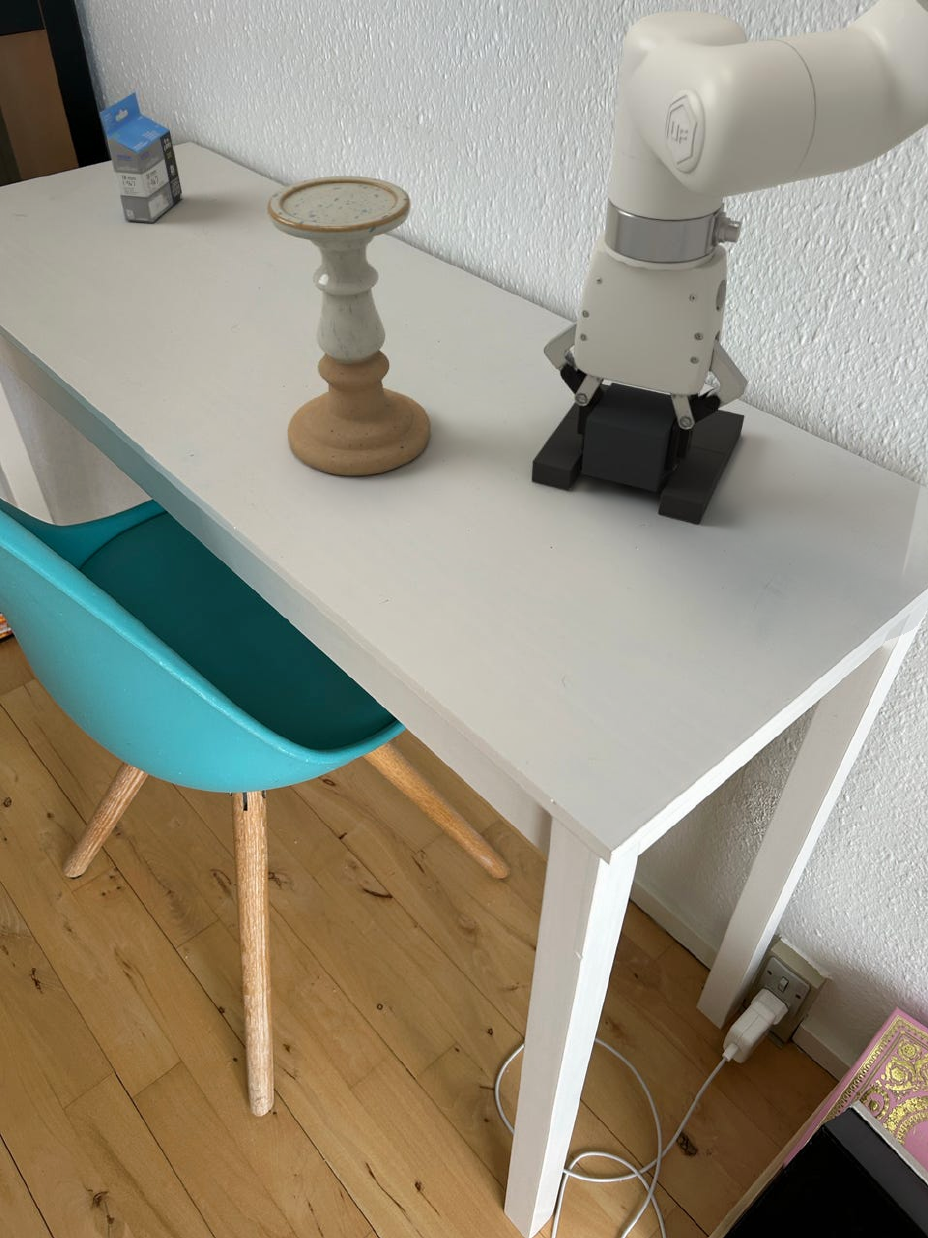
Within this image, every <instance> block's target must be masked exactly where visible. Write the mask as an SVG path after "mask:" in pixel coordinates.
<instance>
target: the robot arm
mask: <svg viewBox="0 0 928 1238" xmlns="http://www.w3.org/2000/svg"><path fill="white" fill-rule="evenodd" d="M618 79H619V80H618V90H617V100H616V112H615V121H614V122H615V123H614V134H613V143H612V154H611V155H612V156H611V164H610V165H611V166H610V176H609V177H610V178H609V189H608V190H609V191H608V197H607V206H606V207H607V208H606V217H605V227H604V231H602V232H601V233H600V234H599V235H598V237H597V239H596V240H595V243H594V246H593V249H592V253H591V256H590V259H589V263H588V268H587V270H586V275H585V278H584V284H583V288H582V293H581V299H580V305H579V308H578V316H577V320H576V321H574V322H573V323H572V324H570V325H569V326H567V327H566V328H565V329H563V330H562V331H561V332H559V333H558V334H556V335H555V336H554V337H552V338H550V340H549V341H548V343H547V344H546V345H545V346H544V347H543V354H544V355H545V356H546V358H547V359H548V360H549V361H550V363H551V364H552V365H553V367H554V368H555V370H558V371H559V377H560V378H561V379H562V380H563V382H564V383H565V384H566V386H567V387H568V388H569V389H570V390H571V392H572V393H573V394H574V398H573V399H574V401H575V402H576V403H577V404H578V405H580V406H579V417H578V429H577V433H578V434H580V435H582V445H581V450H583V451H584V440H585V429H586V419H587V418H588V416H589V415H590V414H591V412H592V411H593V409H594V408H595V406H596V405H597V403H598V402H599V400H600V399H601V398H602V396H603V395H604V390H602V389H601V388H600V386H601V384H603V383H604V381H605V380H606V381H610V382H614V383H618V384H622V385H627V386H632V387H636V388H641V389H646V390H650V391H655V392H660V393H665V394H669V395H671V399H672V403H673V406H674V410H675V414H676V420H675V422H674V424H673V426H672V427H671V431H670V437H669V443H668V449H667V455H666V461H665V469H666V471H667V472H669V473H673V471H674V469H675V467H676V465H677V462H678V460H679V459H680V458H682V459H686V458H687V456H688V454H689V451H690V447H691V442H692V436H693V431H694V425H695V423H697V422H699V421H700V420H702V419H704V418H706V417H707V416H709V415H711V414H713V413H714V412H716V411H717V410H720V408H722V407H724V406H726V405H728V404H730V403H732V402H733V401H735V400H737V399H739V398H741V397H742V396H743V395H744V393H745V391H746V389H747V388H748V385H749V381H748V380H747V378H746V377H745V375H744V374H743V373H742V371H741V370H740V368H738V366H737V364H736V363H735V362H734V361H733V359H732V358H731V356H730V355H729V354H728V353H727V351H726V350H725V348H724V347H723V346H722V344H721V341H722V334H723V326H724V318H725V310H726V309H725V308H726V298H727V282H728V276H727V275H728V258H727V257H728V256H727V249H726V248H725V247H724V246H723V245H721V244H726V242H727V243H733V244H737V243H738V241H739V238H740V234H741V230H742V221H739V220H732V218H731V217H727V212H726V211H725V210H724V209H725V205H726V202H724V199H725V198H727V197H732V196H739V195H743V194H744V195H745V194H747V193H752V192H757V191H762V190H767V189H772V188H776V187H778V186H780V185H784V184H785V185H786V184H790V183H794V182H799V181H805V180H809V179H810V180H811V179H813V178H820V177H824V176H825V177H826V176H830V175H835V174H839V173H845V172H847V171H850V170H853V169H854V170H855V169H856V168H859V167H862V166H864V165H866V164H868V163H870V162H873V161H875V160H876V159H878V158H880V157H882V156H884V155H885V154H887V153H888V152H890V151H892V149H894V148H896V147H897V146H899V145H901V144H902V143H903V142H904V141H906V140H907V139H909V138H910V137H912V136H913V135H914V134H916V133H917V132H919V131H920V130H921V129H923V128H924V127H926V126H927V125H928V0H877V1H876V2H875V3H874V4H873V5H872V6H871V7H870V8H869V9H868V10H866V11H865V12H864V13H863V14H861V15H860V16H859V17H858V18H857V19H855V20H854V21H853V22H851V23H850V24H848V25H846V26H845V27H843V28H838V29H832V30H825V31H814V32H807V33H802V34H801V33H800V34H795V35H787V36H781V37H774V38H769V39H765V40H760V41H750V42H749V41H748V35H747V33H746V30H745V28H744V27H743V26H742V25H741V24H740V23H739V22H738V21H737V20H734V19H733V18H731V17H728V16H725V15H722V14H718V13H714V12H707V11H698V10H697V11H696V10H668V11H660V12H656V13H652V14H648V15H646V16H643V17H641V18H639V19H638V20H637V21H635V22H634V23H633V24H632V25H631V27H630V28H629V29H628V31H627V33H626V35H625V37H624V41H623V45H622V50H621V59H620V71H619V78H618ZM572 347H573V353H572V351H571V348H572ZM709 372H710V373H712V374H713V376H714V377H715V378H716V380H717V381H718V383H719V385H718V386H716V387H713V388H711V389H709V390H708V391H706V392H704V393H702V394H701V391H702V390H703V388H704V386H705V382H706V379H707V378H708V375H709ZM575 402H574V403H575Z"/></svg>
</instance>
